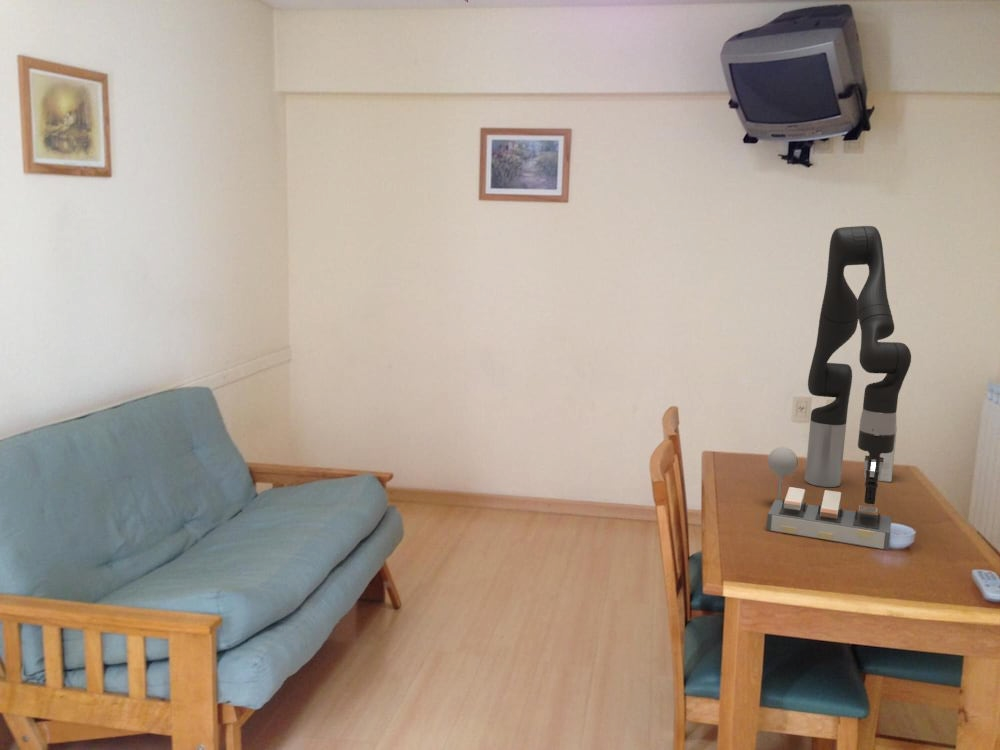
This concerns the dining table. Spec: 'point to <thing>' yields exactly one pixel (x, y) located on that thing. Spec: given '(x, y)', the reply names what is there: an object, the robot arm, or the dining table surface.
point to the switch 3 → (868, 509)
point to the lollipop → (782, 463)
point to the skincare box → (888, 464)
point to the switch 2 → (830, 504)
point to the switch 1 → (794, 498)
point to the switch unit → (831, 525)
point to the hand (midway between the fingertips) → (869, 502)
